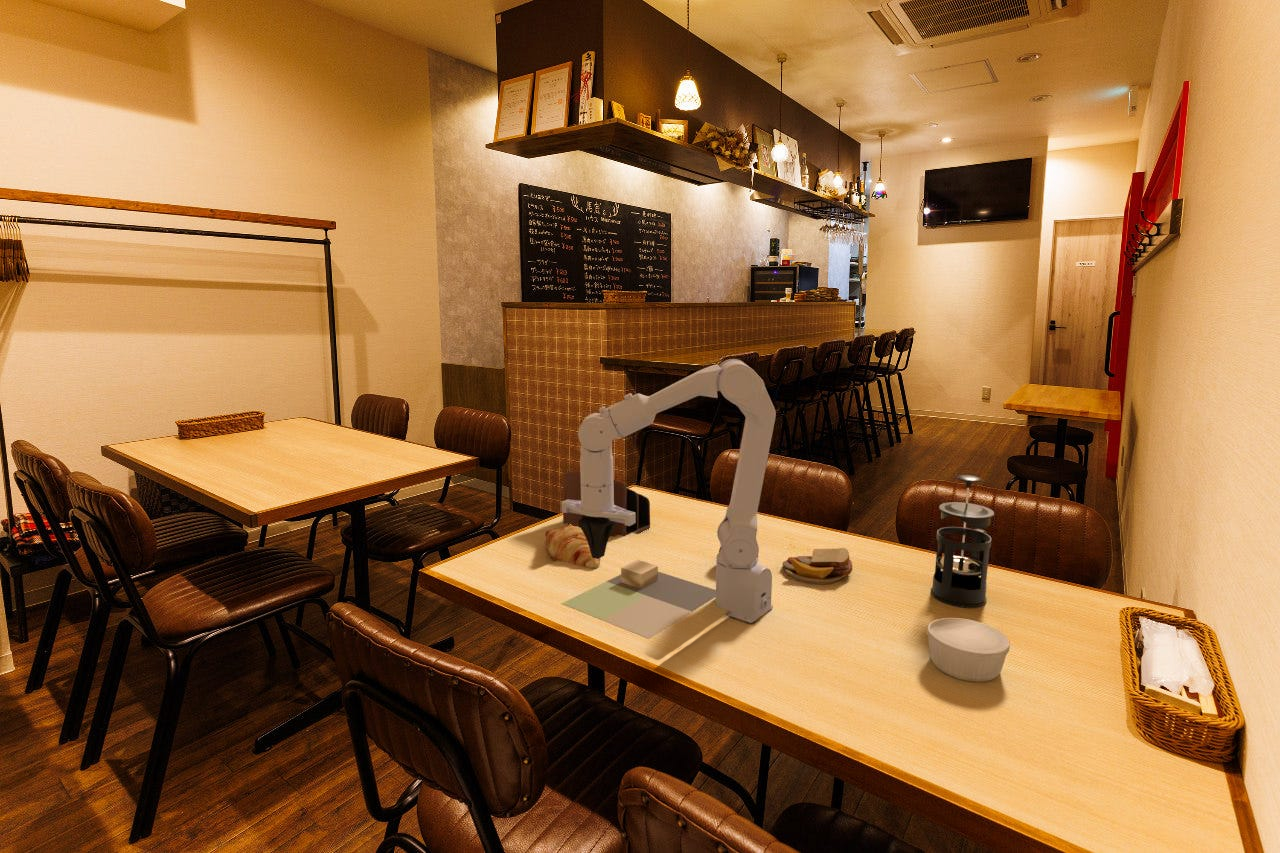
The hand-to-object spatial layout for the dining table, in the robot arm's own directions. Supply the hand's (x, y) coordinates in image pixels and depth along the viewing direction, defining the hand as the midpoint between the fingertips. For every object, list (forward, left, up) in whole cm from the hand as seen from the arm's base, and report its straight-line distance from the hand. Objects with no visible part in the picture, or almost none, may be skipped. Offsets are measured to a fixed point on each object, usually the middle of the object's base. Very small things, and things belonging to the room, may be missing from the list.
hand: (598, 556), depth 119 cm
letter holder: (+28, -33, -10) cm, 44 cm away
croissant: (+20, -13, -10) cm, 26 cm away
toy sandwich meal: (-24, -39, -10) cm, 47 cm away
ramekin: (-56, -20, -10) cm, 61 cm away
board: (-5, -6, -9) cm, 12 cm away
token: (0, -11, -8) cm, 14 cm away
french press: (-49, -45, -10) cm, 68 cm away
